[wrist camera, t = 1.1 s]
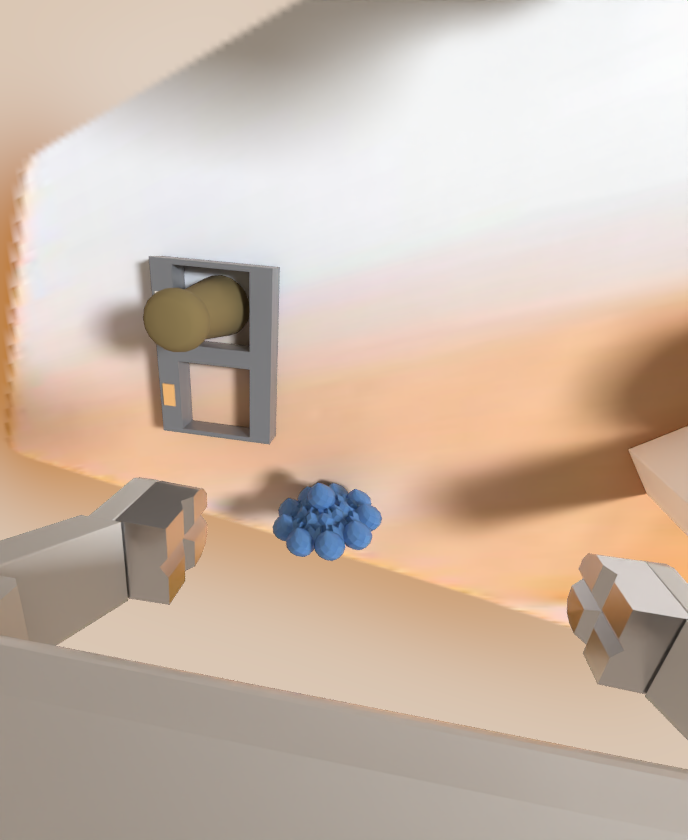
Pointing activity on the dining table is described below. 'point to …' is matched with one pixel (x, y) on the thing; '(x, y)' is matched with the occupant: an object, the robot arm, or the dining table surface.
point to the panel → (224, 354)
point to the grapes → (326, 521)
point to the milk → (666, 473)
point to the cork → (196, 313)
